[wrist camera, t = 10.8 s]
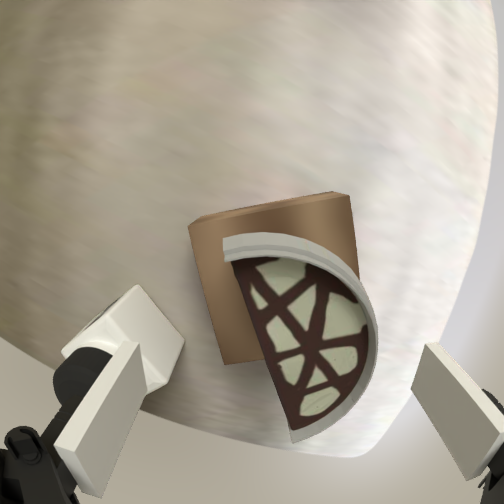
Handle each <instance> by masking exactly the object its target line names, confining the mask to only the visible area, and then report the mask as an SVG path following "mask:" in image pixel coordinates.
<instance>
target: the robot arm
mask: <svg viewBox="0 0 504 504" xmlns="http://www.w3.org/2000/svg"><path fill="white" fill-rule="evenodd" d="M411 390H412V392H413V393H414V395H415V396H416V398H417V400H418V401H419V403H420V404H421V406H422V408H423V409H424V411H425V412H426V414H427V415H428V417H429V418H430V420H431V422H432V424H433V425H434V427H435V428H436V430H437V432H438V433H439V435H440V436H441V438H442V440H443V441H444V443H445V445H446V447H447V448H448V450H449V451H450V453H451V455H452V457H453V458H454V460H455V462H456V463H457V465H458V467H459V469H460V471H461V472H462V474H463V476H464V477H465V479H466V481H468V480H470V479H473V478H475V477H477V476H479V475H481V473H482V472H483V471H484V469H485V468H486V467H487V466H488V467H489V468H490V471H489V473H488V474H487V475H486V476H485V478H484V479H483V480H482V481H481V483H480V484H479V486H478V488H480V487H481V486H482V485H483V484H484V482H485V486H484V487H483V489H484V491H483V495H482V499H481V503H480V504H504V408H503V406H502V405H501V404H500V403H498V400H497V399H496V398H495V397H494V396H493V395H492V394H491V393H489V392H488V391H486V390H484V389H480V388H479V386H478V385H477V384H476V383H475V382H474V381H473V380H472V379H471V378H470V377H469V375H468V374H467V373H466V372H465V371H464V370H463V369H462V368H461V367H460V366H459V364H458V363H457V362H456V361H455V360H454V359H453V358H452V357H451V356H450V355H449V354H448V353H447V352H446V351H445V350H444V348H443V347H442V346H440V344H439V343H438V342H435V343H427V344H425V346H424V350H423V353H422V356H421V359H420V363H419V366H418V369H417V372H416V375H415V378H414V381H413V383H412V386H411ZM147 391H148V390H147V385H146V379H145V374H144V368H143V362H142V356H141V350H140V344H139V342H130V341H123V342H122V344H121V345H120V347H119V348H118V349H117V351H116V352H115V354H114V355H113V356H112V358H111V359H110V361H109V362H108V364H107V365H106V366H105V368H104V369H103V371H102V372H101V374H100V375H99V377H98V378H97V379H96V381H95V382H94V384H93V385H92V387H91V388H90V390H89V391H88V393H87V394H86V396H85V397H82V396H78V395H74V396H73V397H71V398H70V399H68V400H67V401H65V403H64V404H63V405H62V407H61V408H60V410H59V412H58V413H57V414H56V415H55V417H54V419H52V421H51V422H50V424H49V425H48V427H47V428H46V430H45V431H44V432H43V434H42V435H41V437H39V435H38V433H37V431H36V430H34V429H33V428H31V427H27V426H19V427H16V428H13V429H12V430H11V431H9V432H8V433H7V435H6V437H5V441H4V443H5V445H6V447H7V448H8V450H6V449H0V504H80V503H79V501H78V499H77V496H76V494H75V493H74V489H75V487H76V485H78V486H79V488H80V489H81V491H82V492H83V493H86V494H89V495H92V496H95V497H98V498H102V496H103V494H104V491H105V489H106V486H107V484H108V481H109V479H110V476H111V474H112V472H113V469H114V467H115V464H116V462H117V460H118V457H119V455H120V452H121V450H122V448H123V445H124V443H125V441H126V438H127V436H128V434H129V431H130V429H131V427H132V424H133V422H134V420H135V418H136V415H137V413H138V411H139V409H140V406H141V404H142V402H143V400H144V397H145V395H146V393H147Z"/></svg>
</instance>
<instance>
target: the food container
mask: <svg viewBox="0 0 504 504" xmlns="http://www.w3.org/2000/svg"><path fill="white" fill-rule="evenodd" d="M223 252H224V255H225V258H224V261H225V262H229V261H231V265H232V267H233V271H234V275H235V277H236V279H237V281H238V284H239V286H240V289H241V292H242V295H243V298H244V301H245V304H246V307H247V310H248V312H249V315H250V318H251V321H252V324H253V327H254V329H255V332H256V335H257V338H258V341H259V344H260V347H261V349H262V352H263V355H264V358H265V361H266V364H267V367H268V369H269V372H270V374H271V377H272V379H273V382H274V385H275V387H276V390H277V393H278V396H279V398H280V401H281V404H282V407H283V409H284V412H285V414H286V417H287V421H288V426H289V431H290V436H291V441H292V443H296V442H299V441H302V440H305V439H307V438H310V437H312V436H314V435H316V434H318V433H320V432H322V431H324V430H325V429H327V428H328V427H330V426H332V425H333V424H335V423H336V422H337V421H338V420H340V419H341V418H342V417H343V416H345V415H346V414H347V413H348V412H349V410H350V409H351V408H352V407H353V406H354V405H355V404H356V403H357V401H358V400H359V399H360V397H361V396H362V395H363V393H364V392H365V390H366V388H367V386H368V384H369V382H370V380H371V378H372V375H373V372H374V368H375V365H376V359H377V352H378V327H377V323H376V318H375V314H374V311H373V308H372V305H371V303H370V300H369V298H368V296H367V293H366V291H365V289H364V287H363V285H362V283H361V282H360V280H359V279H358V277H357V276H356V275H355V273H354V272H353V271H352V269H351V268H350V267H349V266H348V265H347V264H345V263H344V262H343V261H342V260H341V259H340V258H339V257H338V256H336V255H335V254H333V253H332V252H330V251H329V250H327V249H326V248H324V247H323V246H320V245H318V244H316V243H313V242H311V241H309V240H306V239H304V238H299V237H295V236H291V235H287V234H281V233H268V232H258V233H245V234H238V235H234V236H230V237H226V238H223Z"/></svg>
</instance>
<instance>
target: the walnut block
mask: <svg viewBox="0 0 504 504" xmlns="http://www.w3.org/2000/svg"><path fill="white" fill-rule="evenodd" d="M188 230H189V235H190V239H191V243H192V247H193V251H194V255H195V259H196V263H197V267H198V271H199V275H200V279H201V283H202V287H203V290H204V294H205V298H206V302H207V305H208V309H209V313H210V316H211V320H212V324H213V327H214V331H215V334H216V338H217V341H218V345H219V348H220V352H221V355H222V358H223V362H224V365H228V364H235V363H242V362H249V361H256V360H262V359H265V358H264V355H263V352H262V349H261V347H260V344H259V341H258V338H257V335H256V332H255V329H254V327H253V324H252V321H251V318H250V315H249V312H248V310H247V307H246V304H245V301H244V298H243V295H242V292H241V289H240V286H239V284H238V281H237V279H236V277H235V275H234V271H233V267H232V265H231V261H229V262H225V261H224V258H225V255H224V252H223V238H226V237H230V236H234V235H238V234H245V233H258V232H268V233H281V234H287V235H291V236H295V237H299V238H304V239H306V240H309V241H311V242H313V243H316V244H318V245H320V246H323V247H324V248H326V249H327V250H329V251H330V252H332V253H333V254H335V255H336V256H338V257H339V258H340V259H341V260H342V261H343V262H344V263H345V264H347V265H348V266H349V267H350V268H351V269H352V271H353V272H354V273H355V275H356V276H357V277H358V279H359V280H360V277H359V266H358V257H357V248H356V240H355V232H354V224H353V217H352V210H351V203H350V197H349V195H345V194H341V193H337V192H333V191H331V192H325V193H319V194H313V195H308V196H302V197H297V198H291V199H286V200H280V201H275V202H270V203H265V204H259V205H254V206H249V207H244V208H239V209H234V210H229V211H225V212H220V213H215V214H210V215H206V216H201V217H200V218H198V219H197V220H196V221H194V222H193V223H192V224H190V225H189V226H188Z"/></svg>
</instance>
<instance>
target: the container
mask: <svg viewBox="0 0 504 504" xmlns="http://www.w3.org/2000/svg"><path fill="white" fill-rule="evenodd" d="M123 341H130V342H139V344H140V350H141V356H142V362H143V368H144V374H145V379H146V385H147V390H148V391H147V393H146V395H147V394H149V393H151V392H153V391H155V390H157V389H159V388H160V387H162V386H164V385H166V384H167V383H168V381H169V379H170V376H171V374H172V371H173V369H174V367H175V364H176V362H177V359H178V357H179V355H180V352H181V350H182V347H183V345H184V342H185V340H184V338H183V337H182V336H181V335H180V334H179V333H178V331H177V330H176V329H175V328H174V327H173V326H172V324H171V323H170V322H169V321H168V320H167V318H166V317H165V316H164V315H163V314H162V312H161V311H160V310H159V309H158V308H157V306H156V305H155V304H154V303H153V301H152V300H151V299H150V298H149V296H148V295H147V294H146V293H145V291H144V290H143V289H142V288H141V286H140V285H135V286H133V287H132V288H131V289H130V290H128V291H127V292H126V293H125V294H123V295H122V296H121V297H120V298H118V299H117V300H116V301H115V302H113V303H112V304H111V305H110V306H108V307H107V308H106V309H105V310H103V311H102V312H101V313H100V314H98V315H97V316H96V317H95V318H94V319H93V320H91V321H90V322H89V323H88V324H87V325H86V326H85V327H84V328H83V329H82V330H81V331H80V332H79V333H78V334H77V335H76V336H75V337H74V338H73V339H72V340H71V341H70V342H69V343H68V344H67V345H66V346H65V347H64V348H63V349H62V351H61V353H62V355H63V356H64V357H65V358H66V360H65V361H64V362H63V363H62V364H61V365H60V366H59V368H58V369H57V370H56V371H55V373H54V376H53V385H54V391H55V394H56V396H57V398H58V400H59V402H60V403H61V405H63V404H64V403H65V401H67V400H68V399H70V398H71V397H73V396H74V395H78V396H82V397H85V396H86V394H87V393H88V391H89V390H90V388H91V387H92V385H93V384H94V382H95V381H96V379H97V378H98V377H99V375H100V374H101V372H102V371H103V369H104V368H105V366H106V365H107V364H108V362H109V361H110V359H111V358H112V356H113V355H114V354H115V352H116V351H117V349H118V348H119V347H120V345H121V344H122V342H123Z"/></svg>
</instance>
